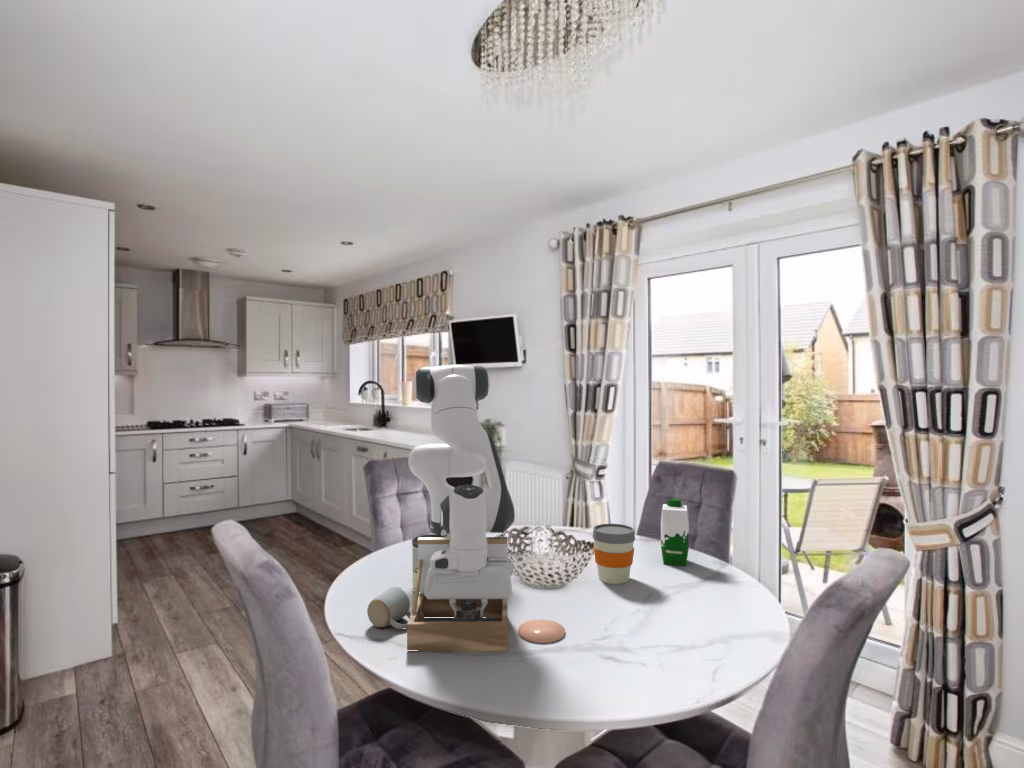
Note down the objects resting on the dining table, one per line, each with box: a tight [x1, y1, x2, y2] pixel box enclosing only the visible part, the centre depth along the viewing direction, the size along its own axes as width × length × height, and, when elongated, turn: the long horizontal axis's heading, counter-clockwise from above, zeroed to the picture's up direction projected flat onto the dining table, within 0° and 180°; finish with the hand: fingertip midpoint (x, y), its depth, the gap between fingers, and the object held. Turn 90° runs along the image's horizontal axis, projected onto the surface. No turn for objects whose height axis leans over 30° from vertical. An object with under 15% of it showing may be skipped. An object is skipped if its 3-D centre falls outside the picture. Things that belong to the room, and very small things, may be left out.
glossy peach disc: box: [517, 619, 566, 644], centre depth 129 cm, size 11×11×1 cm
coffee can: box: [411, 534, 446, 592], centre depth 157 cm, size 10×10×14 cm
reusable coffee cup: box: [592, 523, 636, 585], centre depth 165 cm, size 13×13×15 cm
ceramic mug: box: [366, 586, 412, 630], centre depth 134 cm, size 11×8×8 cm
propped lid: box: [411, 536, 508, 616], centre depth 132 cm, size 14×22×15 cm, turn 91°
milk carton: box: [660, 497, 690, 567], centre depth 180 cm, size 9×9×20 cm
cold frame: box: [406, 594, 509, 652], centre depth 129 cm, size 18×22×6 cm
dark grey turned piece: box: [455, 599, 482, 622], centre depth 127 cm, size 6×6×12 cm
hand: (468, 616), depth 127 cm, fingers open, 4 cm apart
